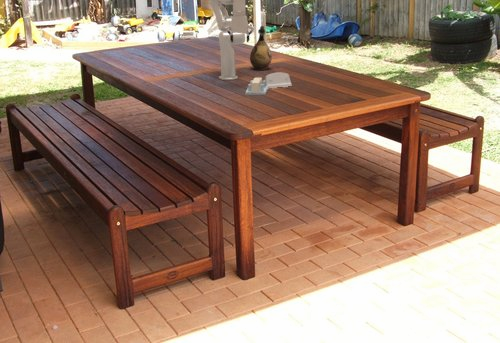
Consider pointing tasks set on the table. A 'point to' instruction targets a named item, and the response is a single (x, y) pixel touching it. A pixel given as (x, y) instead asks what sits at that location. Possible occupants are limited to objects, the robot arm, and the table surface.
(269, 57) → the ceramic jug
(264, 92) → the rack
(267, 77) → the white router
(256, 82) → the clay bar
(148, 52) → the table surface
